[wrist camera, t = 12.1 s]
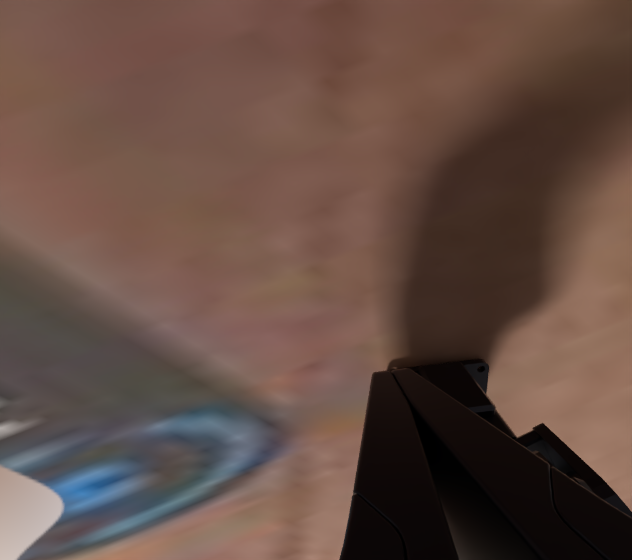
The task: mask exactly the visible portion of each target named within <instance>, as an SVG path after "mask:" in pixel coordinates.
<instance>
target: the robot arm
mask: <svg viewBox="0 0 632 560" xmlns="http://www.w3.org/2000/svg"><path fill="white" fill-rule="evenodd" d="M479 366H481V367H480V368H478V367H479ZM488 372H489V366H488V364H487V363H486V362H485V361H484V360H482V359H474V360H467V361H459V362H450V363H443V364H435V365H427V366H419V367H412V368H403V369H396V370H391V371H380V372H374V373H373V374H372V379H371V385H370V391H369V397H368V403H367V410H366V416H365V422H364V428H363V434H362V441H361V447H360V453H359V459H358V465H357V472H356V478H355V484H354V490H353V496H352V501H351V507H350V513H349V519H348V524H347V529H346V534H345V539H344V544H343V548H342V552H341V555H340V559H339V560H632V512H631V511H630V509H629V508H628V507H627V506H626V505H625V503H624V502H623V501H622V500H621V499H620V498H619V496H618V495H617V494H616V493H615V492H614V491H613V490H612V489H611V487H610V486H609V485H608V484H607V483H606V482H605V481H604V480H603V479H602V478H601V477H600V476H599V475H598V474H597V473H596V472H595V471H594V470H593V469H591V468H590V467H589V466H588V465H587V464H586V463H585V462H584V461H583V460H582V459H581V458H580V457H579V456H578V455H576V454H575V453H574V452H573V451H572V450H571V449H570V448H569V447H568V446H567V445H566V444H565V443H564V442H563V441H561V440H560V439H559V438H558V437H557V436H556V435H555V434H554V433H553V432H552V431H551V430H550V429H549V428H548V427H547V426H545V425H544V424H543V423H542V424H539V425H537V426H535V427H533V430H532V431H530V432H528V433H526V434H524V435H522V436H520V437H518V438H517V437H516V435H515V434H514V433H513V431H512V430H511V429H510V427H509V426H508V425H507V424H506V422H505V421H504V420H503V418H502V417H501V416H500V414H499V413H498V412H497V410H496V407H495V405H494V404H493V403H492V401H491V400H490V399H489V397H488V396H487V395H486V391H487V382H488Z"/></svg>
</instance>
